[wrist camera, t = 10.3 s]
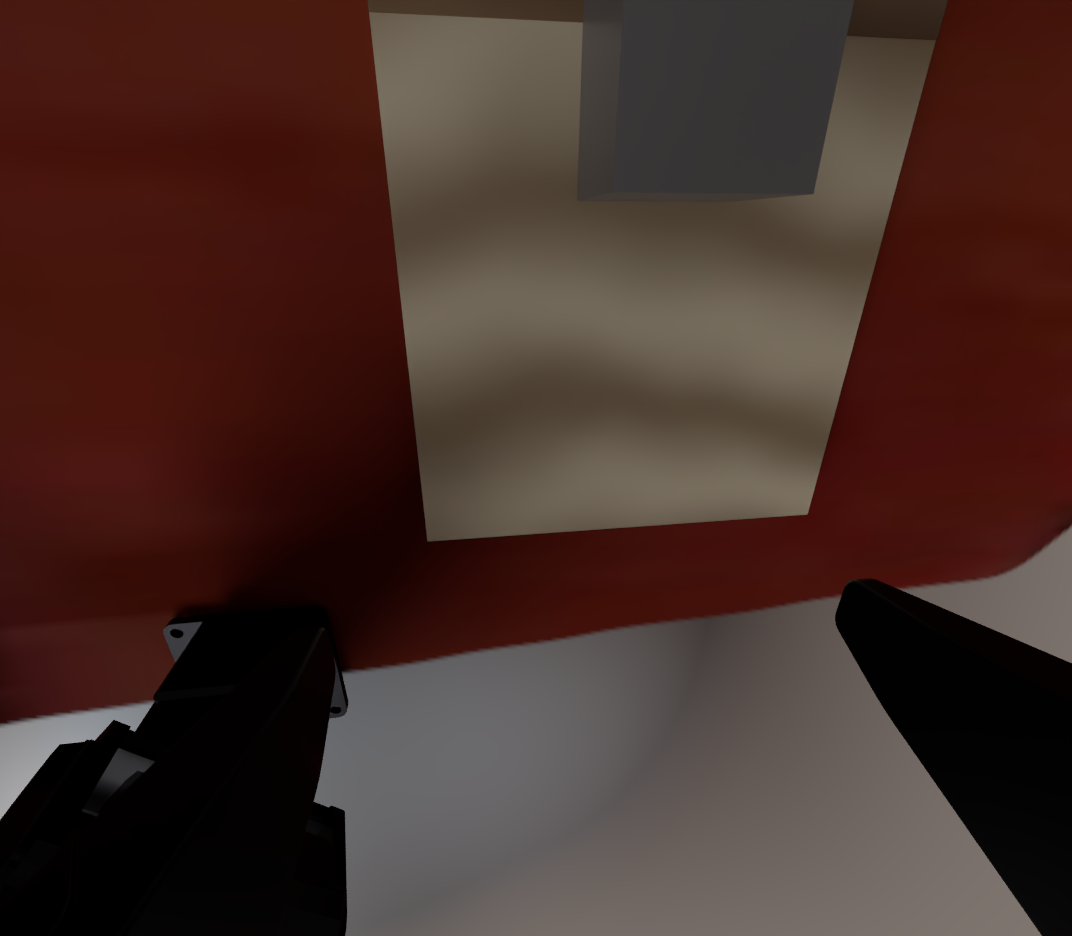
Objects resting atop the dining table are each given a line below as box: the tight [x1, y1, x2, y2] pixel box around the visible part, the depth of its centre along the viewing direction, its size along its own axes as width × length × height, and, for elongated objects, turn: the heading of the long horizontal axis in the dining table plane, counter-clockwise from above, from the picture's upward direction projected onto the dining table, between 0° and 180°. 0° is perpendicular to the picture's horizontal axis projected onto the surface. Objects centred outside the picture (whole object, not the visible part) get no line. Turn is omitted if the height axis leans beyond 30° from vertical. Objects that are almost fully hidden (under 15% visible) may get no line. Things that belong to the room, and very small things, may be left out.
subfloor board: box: [368, 0, 948, 542], centre depth 17 cm, size 22×16×2 cm
